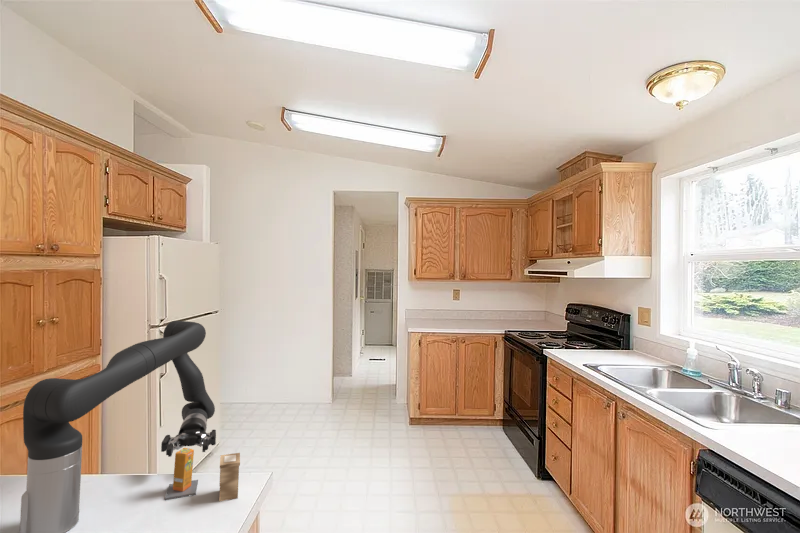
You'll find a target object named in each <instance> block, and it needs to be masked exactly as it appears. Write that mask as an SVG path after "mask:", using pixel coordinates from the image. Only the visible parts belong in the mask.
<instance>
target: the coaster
mask: <svg viewBox="0 0 800 533" xmlns="http://www.w3.org/2000/svg"><path fill="white" fill-rule="evenodd" d="M198 485H199V479H194V480H193V479H192V481H191V486H190V487H189V488H187V489H186V490H185V491H183V492H180V491H175V490H173V483H170V484H168V487H167V490H166V494H165V498H164V500H165V501H169V500H174V499H180V498H186V497H190V496H189V495H192V496H196V495H197V489H198Z"/></svg>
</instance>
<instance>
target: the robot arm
mask: <svg viewBox="0 0 800 533" xmlns="http://www.w3.org/2000/svg"><path fill="white" fill-rule="evenodd" d="M162 334H163V337H160V338H154V339H150V340H144V341H140V342H138V343H134V344H133V345H130V346H128V347H126V348H124V349H122V350H120V351H119V352H117V353H115V354H114V355H113V356H112V357H111V358H110V360H109V361H108V363H107V365H106V367H104V368H103V369H102V370H100V371H98V372H96V373H94V374H92V375H89V376H87V377H84V378H80V379H79V378H78V379H69V378H56V377H55V378H54V377H52V378H46V379H41V380H40V381H38V382H36V383H35V384H34V385H33V386H31V388H30V389H29V391H28V392H27V394H26V395H25V399H24V401H23V409H22V422H23V424H22V427H23V431H22V432H23V443H24V445H25V448H26V449H27V472H26V488H25V489H26V490H25V491H24V492H23V494H21V499H20V502H21V503H20V520H19V521H20V523H19V533H66V532H67V531H70V530H71V529H72V528H74V527H75V526H76V525H77V524H78V522H79V520H80V519H79V518H80V503H81V502H80V500H81V499H80V498H81V482H82V481H81V480H82V460H83V459H82V457H83V434H82V432H80V431H79V430H78V429H77V428H75V427H74V426H73V425H71V422H74V421H76V420H79V419H80V418H82V417H84V416H85V415H87V414H88V413H90V412H91V411H92V410H94V409H96V407H98V406H99V405H100V404H102V403H103V402H104V401H106V400H107V399H109V398H110V397H111V396H113V395H115V394H116V393H118V392H119V391H121V390H123V389H125V388H126V387H128V386H130V385H131V384H133V383H135V382H136V381H139V380H140V379H142V378H143V377H145V376H147V375H149V374H150V373H152V372H153V371H155V370H157V369H159V368H161V367H162V366H164V365H166V364H168V363H169V362H172V364H173V366H174V368H175V370H176V372H177V374H178V378H179V382H180V385H181V386H180V387H181V391H182V395H183V398H184V400H185V401H186V402H188V403H185V405H183V407H182V409H181V418H182V420H183V421H182V422H181V425H180V429H179V430H178V432H177V434H176V435H175V436H171V435H170V434H167V435H164V438H163V440H162V442H161V445H160V447H161V448H160V449H161V450H160V452H161V453H162V452H163V453H164V452H165V455H166V456H168V457H170V458H171V457H172V456H173V452H174V451H175V450H181V449H183V448H185V447H193V446H198V447H201V448H202V449H201V450H202V451H201V452H202V453H205V452H206V451H208V450H209V446H210V445H211V446H215V445H217V440H216V439H217V430H216V429H211V431H210V432H206V431H207V426H208V424H207V423H208V419H211V418H212V417H213V416H214V414H215V412H216V410H215V409H216V406H215V403H214V402H213V400H212V399H211V397H210V396H209V394H208V392H207V390H206V385H205V380H204V375H203V372H202V371H201V370H200V368H199V367H198V366H197V364H196V363H195V362H194V361H193V360H192V358H191V357H190V355H189V353H190V352H193V351H195V350H196V349H198V348H199V347H201V345H202V344H203V342H204V341H205V338H206V336H207V335H206V334H207V333H206V328H205V327H204V325H203V324H201V323H198V322H195V321H188V320H187V321H186V320H172V321H170V322H168V324H167V325H166V326H165V328H164V330H163V333H162Z"/></svg>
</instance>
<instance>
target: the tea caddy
mask: <svg viewBox="0 0 800 533" xmlns="http://www.w3.org/2000/svg"><path fill="white" fill-rule="evenodd" d="M219 457H220V459H219V469H220V470H219V496H218V497H219V498H218V499H219V500H218V502H224V501H229V500H235V499H238V498H239V478H240V476H239V474H240V466H241V453H240V452H235V453H228V454H222V455H220V456H219Z"/></svg>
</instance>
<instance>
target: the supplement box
mask: <svg viewBox="0 0 800 533" xmlns="http://www.w3.org/2000/svg"><path fill="white" fill-rule="evenodd" d="M194 451H195V449H193V448H189V447H182V448H181V449H179V451H176V452H175V455H174V456H175V457H174V467H173V468H174V469H173V481H172V482H173V483H172V484H173V490H175V491H180V492H183V491H185V490H186V489H187V488H189V487H190V486H191V481H193V477H192V476H193V466H194V454H195V452H194Z"/></svg>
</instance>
